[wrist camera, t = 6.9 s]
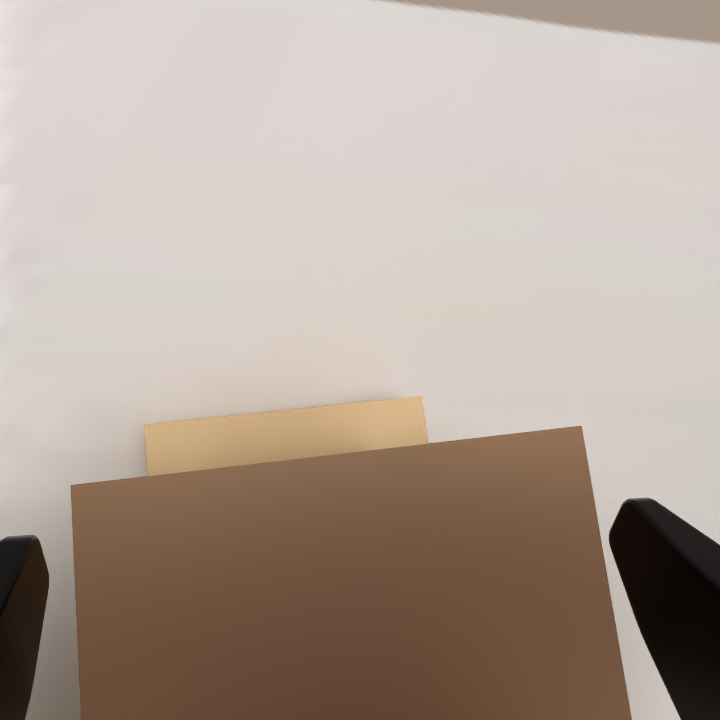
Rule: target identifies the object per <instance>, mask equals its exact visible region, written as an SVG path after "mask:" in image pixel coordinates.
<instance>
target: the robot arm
mask: <svg viewBox="0 0 720 720" xmlns="http://www.w3.org/2000/svg"><path fill="white" fill-rule="evenodd" d="M609 543H610V548H611V551H612V553H613V556H614V559H615V562H616V565H617V568H618V570H619V573H620V576H621V579H622V582H623V585H624V587H625V590H626V593H627V596H628V599H629V602H630V604H631V607H632V610H633V613H634V616H635V619H636V621H637V624H638V626H639V629H640V632H641V634H642V636H643V639H644V641H645V643H646V645H647V648H648V650H649V652H650V654H651V656H652V658H653V661H654V663H655V665H656V667H657V669H658V671H659V673H660V676H661V678H662V680H663V682H664V684H665V686H666V688H667V691H668V693H669V695H670V697H671V699H672V701H673V703H674V706H675V708H676V710H677V712H678V714H679V716H680V718H681V720H720V545H719V544H718V543H716V542H715V541H713V540H712V539H710V538H709V537H707V536H706V535H704V534H703V533H702V532H700V531H699V530H697V529H696V528H694V527H693V526H691V525H690V524H688V523H687V522H686V521H684V520H683V519H681V518H680V517H678V516H677V515H675V514H674V513H672V512H671V511H670V510H668V509H667V508H665V507H664V506H662V505H661V504H659V503H658V502H656V501H655V500H653V499H650V498H634V499H627V500H626V501H624V502H623V504H622V506H621V508H620V510H619V512H618V514H617V516H616V519H615V521H614V523H613V525H612V527H611V529H610V533H609ZM48 589H49V573H48V569H47V565H46V562H45V558H44V555H43V551H42V548H41V544H40V541H39V539H38V538H37V537H36V536H34V535H24V536H9V537H6V538H4V539H2V540H1V541H0V720H25V717H26V713H27V709H28V705H29V701H30V697H31V692H32V687H33V681H34V675H35V669H36V663H37V657H38V651H39V644H40V638H41V632H42V626H43V620H44V614H45V608H46V601H47V595H48Z"/></svg>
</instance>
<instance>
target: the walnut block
mask: <svg viewBox="0 0 720 720" xmlns="http://www.w3.org/2000/svg"><path fill="white" fill-rule="evenodd" d="M71 503H72V525H73V547H74V570H75V592H76V614H77V636H78V658H79V680H80V702H81V720H632V718H631V713H630V707H629V701H628V695H627V689H626V683H625V677H624V672H623V666H622V660H621V654H620V648H619V642H618V636H617V631H616V625H615V619H614V613H613V607H612V601H611V595H610V589H609V584H608V578H607V572H606V566H605V560H604V554H603V548H602V543H601V537H600V531H599V525H598V519H597V513H596V507H595V502H594V496H593V490H592V484H591V478H590V472H589V466H588V461H587V455H586V449H585V443H584V437H583V431H582V426H575V427H567V428H558V429H550V430H541V431H532V432H524V433H515V434H507V435H498V436H489V437H481V438H472V439H464V440H455V441H447V442H438V443H429V444H421V445H412V446H404V447H395V448H386V449H378V450H369V451H361V452H352V453H343V454H335V455H326V456H318V457H309V458H301V459H292V460H283V461H275V462H266V463H258V464H249V465H240V466H232V467H223V468H215V469H206V470H198V471H189V472H180V473H172V474H163V475H155V476H146V477H137V478H129V479H120V480H112V481H103V482H94V483H86V484H77V485H71Z"/></svg>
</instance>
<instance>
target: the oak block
mask: <svg viewBox="0 0 720 720" xmlns="http://www.w3.org/2000/svg"><path fill="white" fill-rule="evenodd" d="M144 428H145V444H146V460H147V475H148V476H155V475H163V474H172V473H180V472H189V471H198V470H206V469H215V468H223V467H232V466H240V465H249V464H258V463H266V462H275V461H283V460H292V459H301V458H309V457H318V456H326V455H335V454H343V453H352V452H361V451H369V450H378V449H386V448H395V447H404V446H412V445H421V444H428V438H427V430H426V423H425V416H424V409H423V401H422V396H418V397H408V398H399V399H389V400H379V401H369V402H360V403H350V404H340V405H330V406H321V407H311V408H301V409H292V410H282V411H272V412H262V413H253V414H243V415H233V416H223V417H214V418H204V419H194V420H184V421H175V422H165V423H155V424H146V425H144Z"/></svg>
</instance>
